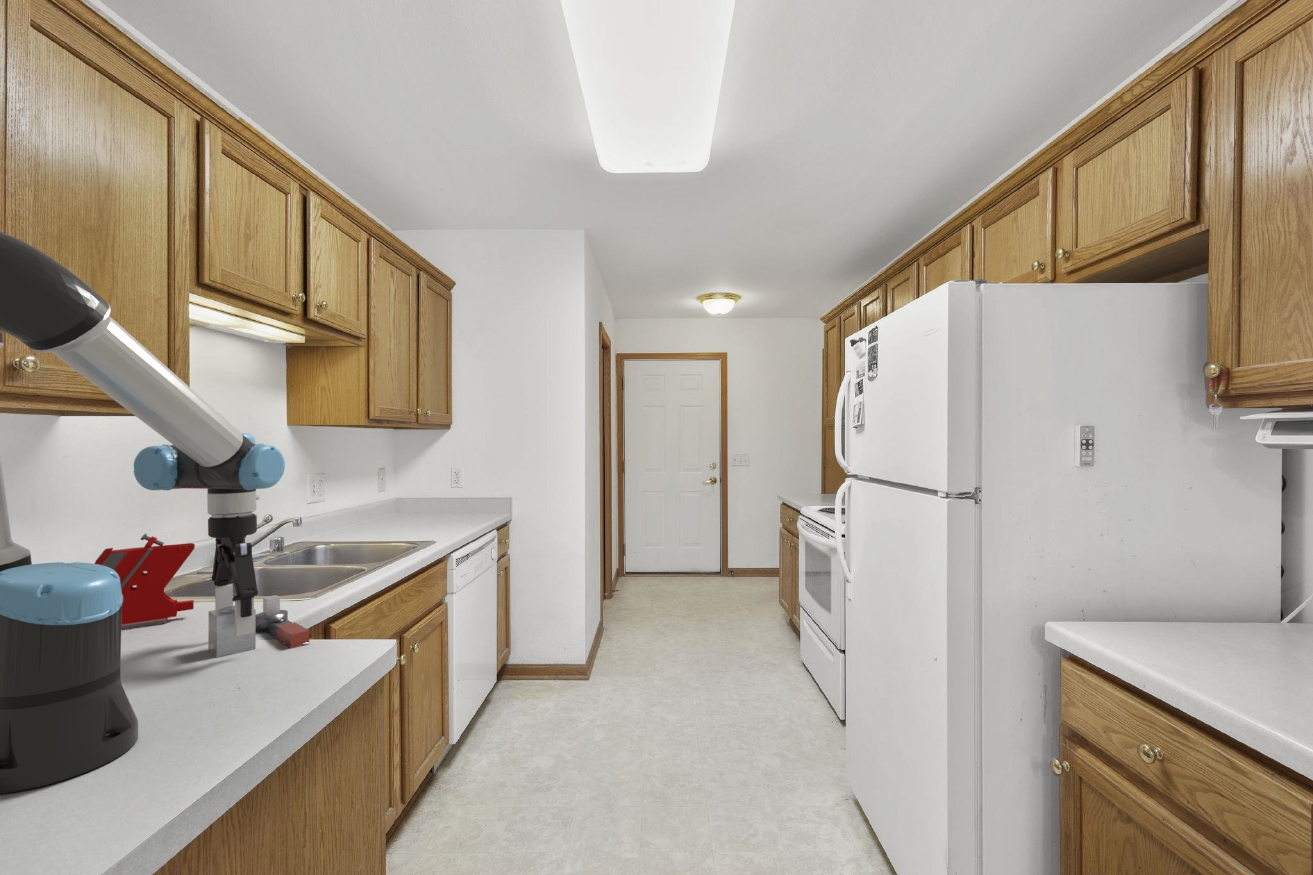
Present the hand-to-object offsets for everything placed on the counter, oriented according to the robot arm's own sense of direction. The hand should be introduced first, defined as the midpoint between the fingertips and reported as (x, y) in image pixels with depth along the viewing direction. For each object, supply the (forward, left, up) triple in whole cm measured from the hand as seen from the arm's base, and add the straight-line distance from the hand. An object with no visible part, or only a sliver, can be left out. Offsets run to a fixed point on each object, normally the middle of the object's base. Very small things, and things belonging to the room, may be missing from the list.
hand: (234, 626), depth 111 cm
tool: (-13, +34, -4) cm, 37 cm away
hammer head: (0, 0, -4) cm, 4 cm away
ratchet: (+9, +2, -4) cm, 10 cm away
